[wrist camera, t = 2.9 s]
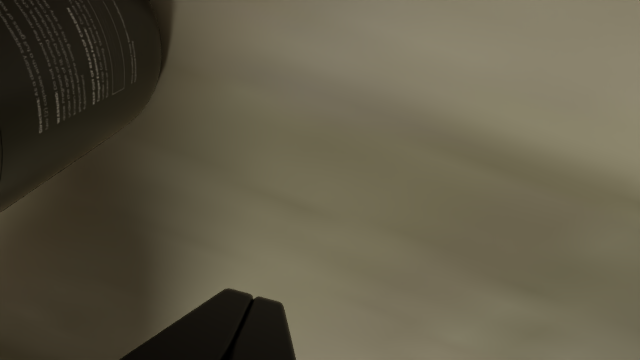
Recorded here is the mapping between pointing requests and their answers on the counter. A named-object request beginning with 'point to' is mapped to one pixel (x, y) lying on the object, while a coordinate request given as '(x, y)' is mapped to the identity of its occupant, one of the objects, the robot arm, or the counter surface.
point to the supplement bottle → (69, 82)
